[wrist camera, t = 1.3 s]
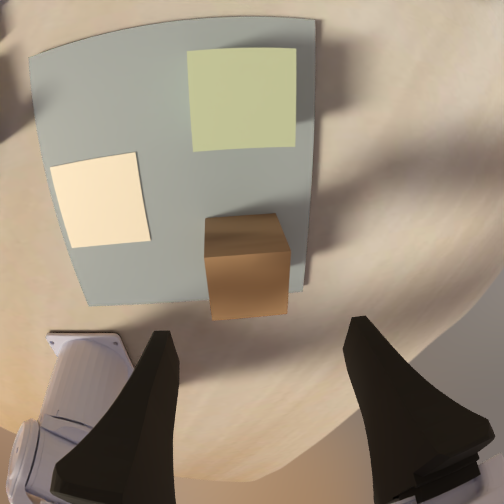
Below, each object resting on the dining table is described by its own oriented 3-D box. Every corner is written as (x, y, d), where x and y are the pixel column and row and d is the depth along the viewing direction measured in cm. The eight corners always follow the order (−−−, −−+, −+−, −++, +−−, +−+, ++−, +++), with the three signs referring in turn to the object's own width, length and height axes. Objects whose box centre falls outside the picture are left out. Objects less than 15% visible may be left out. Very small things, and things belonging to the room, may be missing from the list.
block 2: (274, 270, 23) (286, 313, 19) (211, 275, 22) (212, 320, 19) (275, 213, 20) (291, 251, 17) (205, 218, 20) (203, 257, 16)
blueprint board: (301, 286, 25) (303, 292, 24) (90, 301, 23) (88, 307, 23) (312, 21, 14) (315, 19, 14) (33, 57, 13) (27, 57, 12)
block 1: (276, 128, 17) (295, 146, 14) (197, 132, 17) (193, 151, 13) (276, 53, 15) (296, 48, 11) (193, 56, 14) (186, 51, 11)
